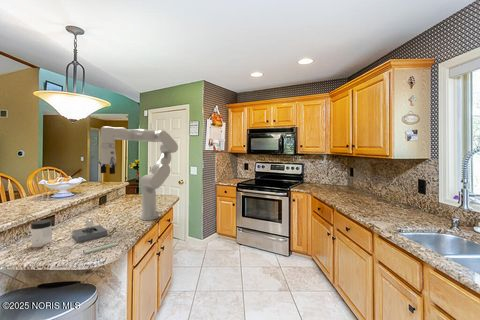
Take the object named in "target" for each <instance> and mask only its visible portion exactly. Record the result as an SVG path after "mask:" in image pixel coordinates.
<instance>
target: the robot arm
mask: <svg viewBox="0 0 480 320" xmlns="http://www.w3.org/2000/svg"><path fill="white" fill-rule="evenodd" d="M116 140H118V141H119V140H121V141H132V142H133V141H135V142H150V143H161V144H159V145H160V146H159V151H160V156H159V158H158V159H157V160H156V161H155V163H154V164H153V165H152V167H151V169H150V172H151V174H145V175H143V176H141V178H140V187H141V189H140V190H141V209H142V210H141V211H142V214H141V216H140V217H139V219H140V221H141V220H142V221H153V220H156V219H158V218H159V215H161V214H163V213H164V212H163V210H157V190H158V189H159V188H161V186H162V185H163V184H164V182H165V181H166V180H167V178H169V176H170V174H171V166H170V164H171V161H172V154H173V153H176V152H177V151H179V145H178V143H177V141H176V140H175V139H174V138H173V137H172V136H171V135H170V134H169V133H168V132H167V131H166V130H164V129H163V130H162V129H161V130H155V129H154V130H153V129H143V128H136V129H127V128H126V127H122V126H121V127H113V126H102V127H101V129H100V149H101V150H100V159H99V165H100V173H101V174H106V173H107V165H108V166H109V171H108V172H109V175H115V174H116V166H117V162H118V160H117V154H116V153H117V152H116V149H115V148H116V142H115V141H116ZM156 189H157V190H156Z"/></svg>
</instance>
